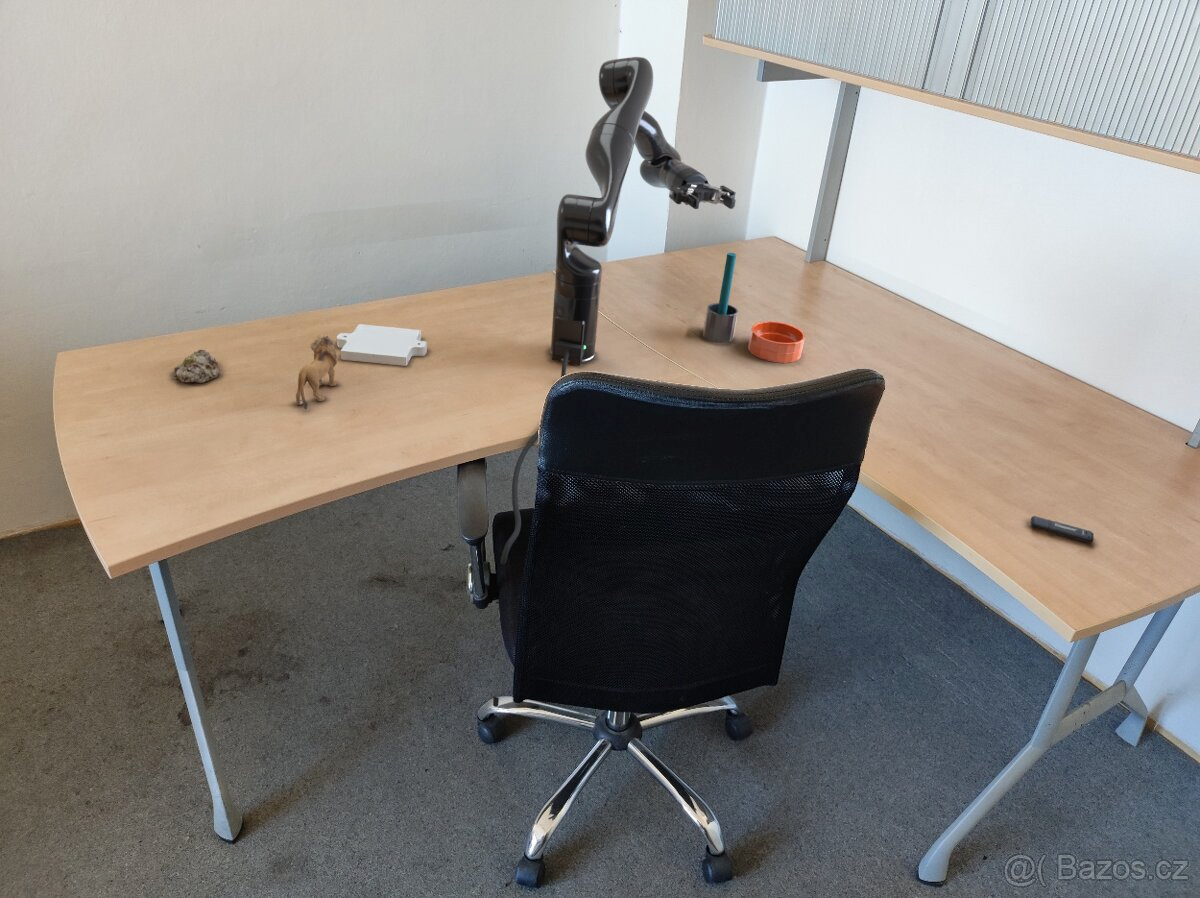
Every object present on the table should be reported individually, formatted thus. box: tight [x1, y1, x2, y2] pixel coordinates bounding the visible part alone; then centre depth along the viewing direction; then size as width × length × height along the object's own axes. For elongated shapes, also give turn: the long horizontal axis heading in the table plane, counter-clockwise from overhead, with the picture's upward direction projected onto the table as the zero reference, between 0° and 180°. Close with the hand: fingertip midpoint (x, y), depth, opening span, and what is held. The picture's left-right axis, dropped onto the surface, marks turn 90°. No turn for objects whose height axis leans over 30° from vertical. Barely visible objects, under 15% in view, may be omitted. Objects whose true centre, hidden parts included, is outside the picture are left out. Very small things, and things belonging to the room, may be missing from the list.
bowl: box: [747, 320, 806, 364], centre depth 194 cm, size 12×12×5 cm
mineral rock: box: [173, 349, 220, 384], centre depth 165 cm, size 11×4×8 cm
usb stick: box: [1030, 515, 1095, 544], centre depth 145 cm, size 10×3×2 cm, turn 67°
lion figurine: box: [295, 334, 338, 410], centre depth 161 cm, size 15×5×9 cm, turn 179°
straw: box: [717, 252, 737, 315], centre depth 195 cm, size 2×2×19 cm
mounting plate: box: [336, 323, 428, 367], centre depth 180 cm, size 18×13×2 cm
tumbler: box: [702, 302, 739, 344], centre depth 198 cm, size 7×7×7 cm
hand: (715, 204), depth 195 cm, fingers open, 8 cm apart
